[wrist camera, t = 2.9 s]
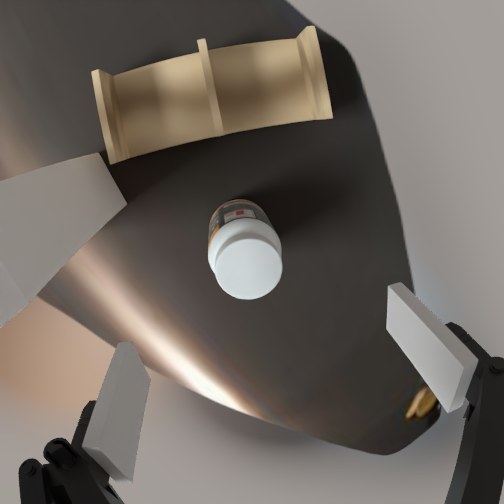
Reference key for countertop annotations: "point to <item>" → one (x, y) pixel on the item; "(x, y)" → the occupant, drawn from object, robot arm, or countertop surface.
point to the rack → (212, 94)
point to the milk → (49, 223)
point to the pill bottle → (244, 250)
